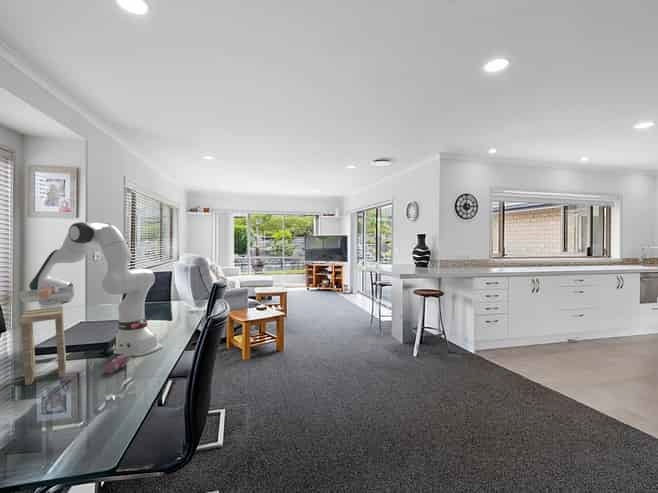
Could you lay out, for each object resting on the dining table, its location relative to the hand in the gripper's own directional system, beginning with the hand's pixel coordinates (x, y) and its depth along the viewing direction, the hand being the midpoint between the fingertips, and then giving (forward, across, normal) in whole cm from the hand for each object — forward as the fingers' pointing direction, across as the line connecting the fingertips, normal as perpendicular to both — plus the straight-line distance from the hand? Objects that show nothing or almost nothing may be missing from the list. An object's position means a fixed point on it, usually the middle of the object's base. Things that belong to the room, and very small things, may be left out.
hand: (46, 288), depth 157 cm
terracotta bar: (+5, 0, +5) cm, 7 cm away
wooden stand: (+9, 0, +42) cm, 43 cm away
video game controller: (+20, +24, +49) cm, 58 cm away
